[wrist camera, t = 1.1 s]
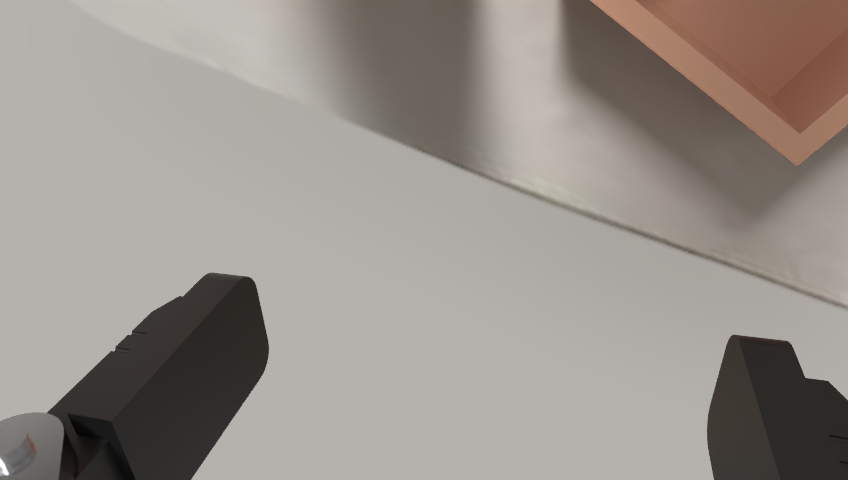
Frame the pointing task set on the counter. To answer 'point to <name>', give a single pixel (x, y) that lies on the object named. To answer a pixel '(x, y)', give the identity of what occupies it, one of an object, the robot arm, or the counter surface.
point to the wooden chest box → (755, 60)
